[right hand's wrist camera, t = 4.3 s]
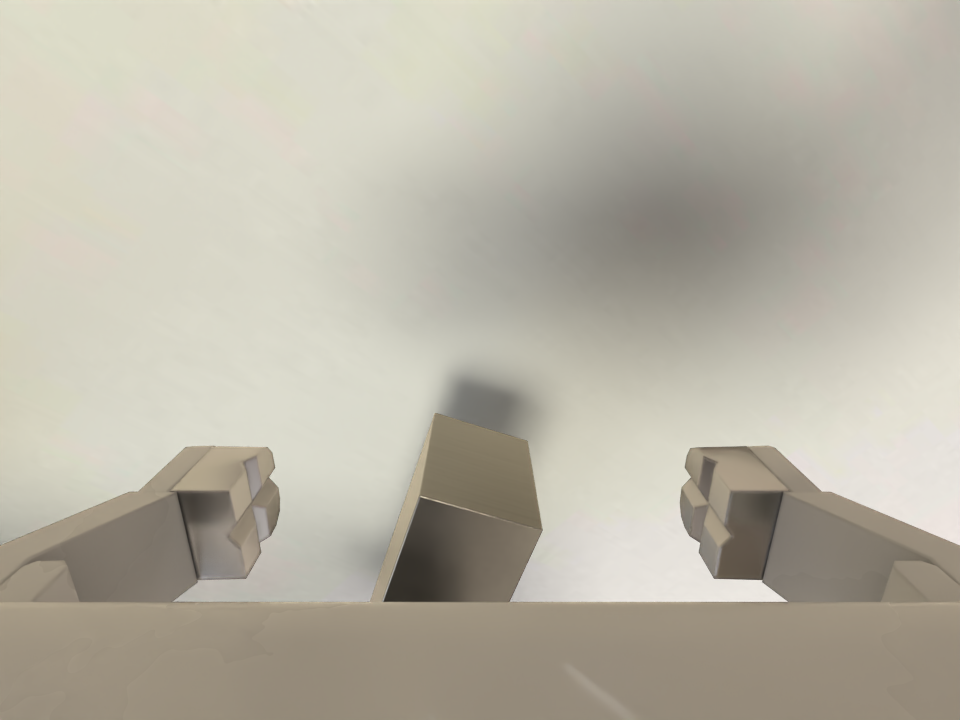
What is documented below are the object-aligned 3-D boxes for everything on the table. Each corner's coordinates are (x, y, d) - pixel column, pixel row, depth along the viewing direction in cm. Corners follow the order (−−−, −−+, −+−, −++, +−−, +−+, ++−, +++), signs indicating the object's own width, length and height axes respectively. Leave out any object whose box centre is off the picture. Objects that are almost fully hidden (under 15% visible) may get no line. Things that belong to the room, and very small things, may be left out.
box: (434, 412, 32) (419, 494, 24) (528, 440, 33) (543, 530, 25) (353, 648, 39) (320, 773, 31) (432, 667, 40) (419, 795, 32)
